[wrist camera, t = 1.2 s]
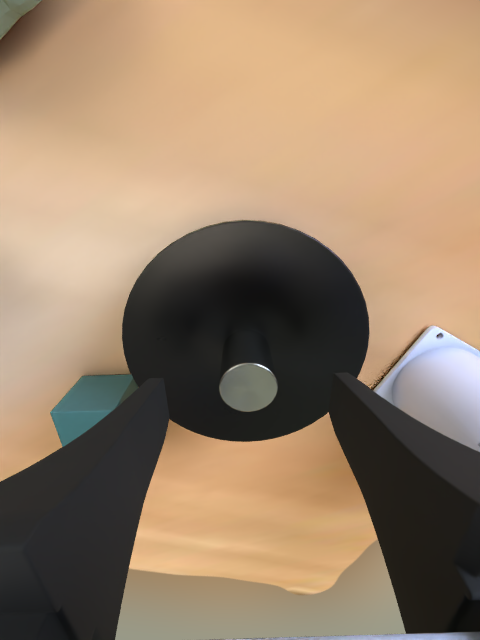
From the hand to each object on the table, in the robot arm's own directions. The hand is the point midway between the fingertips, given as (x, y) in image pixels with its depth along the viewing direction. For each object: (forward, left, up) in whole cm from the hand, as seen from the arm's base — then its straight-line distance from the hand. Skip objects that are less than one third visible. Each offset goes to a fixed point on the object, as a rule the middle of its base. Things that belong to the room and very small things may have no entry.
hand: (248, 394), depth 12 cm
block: (+6, +12, -10) cm, 17 cm away
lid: (0, 0, -4) cm, 4 cm away
